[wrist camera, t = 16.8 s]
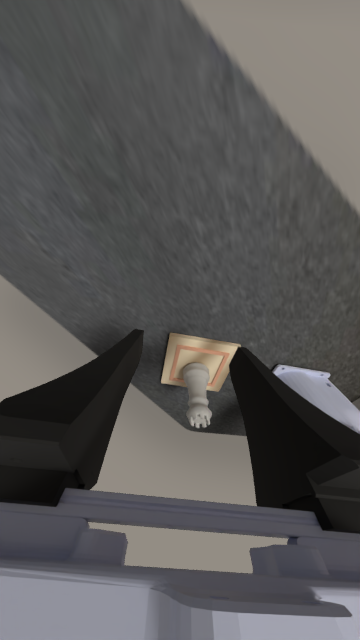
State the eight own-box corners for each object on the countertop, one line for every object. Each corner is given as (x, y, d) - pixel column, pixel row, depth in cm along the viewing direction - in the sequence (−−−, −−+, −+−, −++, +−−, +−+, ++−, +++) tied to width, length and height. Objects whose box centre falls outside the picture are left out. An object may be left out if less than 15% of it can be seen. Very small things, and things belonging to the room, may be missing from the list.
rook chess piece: (203, 357, 23) (211, 410, 16) (212, 375, 25) (222, 428, 18) (178, 365, 24) (175, 417, 17) (188, 381, 26) (189, 433, 19)
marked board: (239, 344, 22) (242, 348, 22) (217, 387, 28) (218, 392, 27) (170, 332, 22) (169, 336, 21) (161, 379, 27) (160, 384, 26)
